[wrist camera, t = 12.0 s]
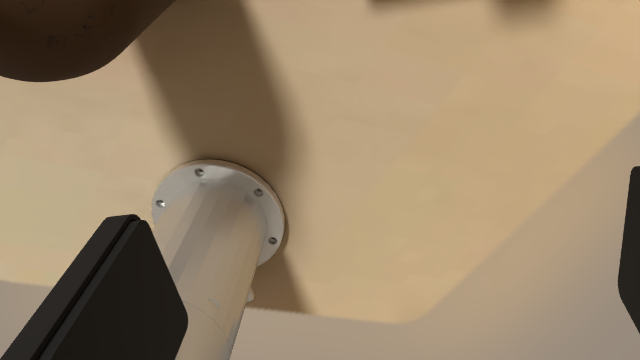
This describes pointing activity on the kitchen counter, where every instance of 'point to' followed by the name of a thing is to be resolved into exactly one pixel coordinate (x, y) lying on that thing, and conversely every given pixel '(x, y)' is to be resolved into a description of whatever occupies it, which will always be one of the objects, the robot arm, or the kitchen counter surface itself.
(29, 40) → the olive oil
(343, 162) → the kitchen counter surface
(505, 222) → the kitchen counter surface
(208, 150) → the kitchen counter surface
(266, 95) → the kitchen counter surface
